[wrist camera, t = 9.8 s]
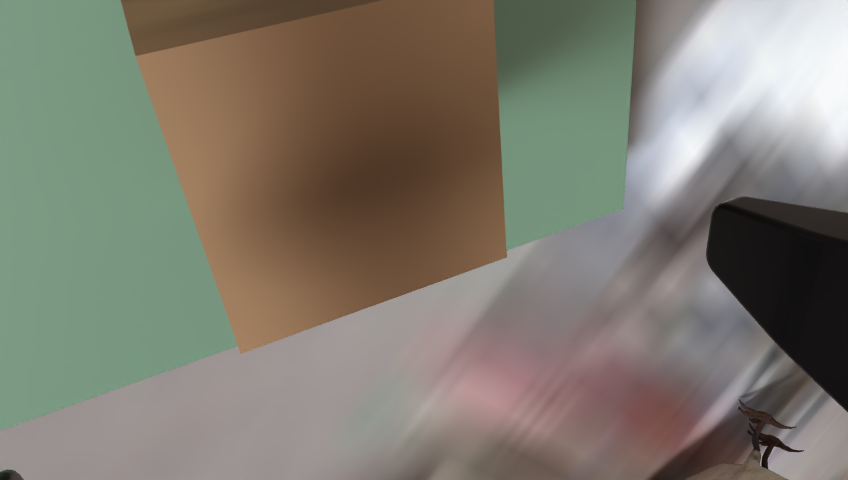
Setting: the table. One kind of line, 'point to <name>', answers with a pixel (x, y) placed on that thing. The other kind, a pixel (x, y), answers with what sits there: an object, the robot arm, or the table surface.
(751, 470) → the decorative bird
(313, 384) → the table surface
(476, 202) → the walnut block
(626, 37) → the green book
